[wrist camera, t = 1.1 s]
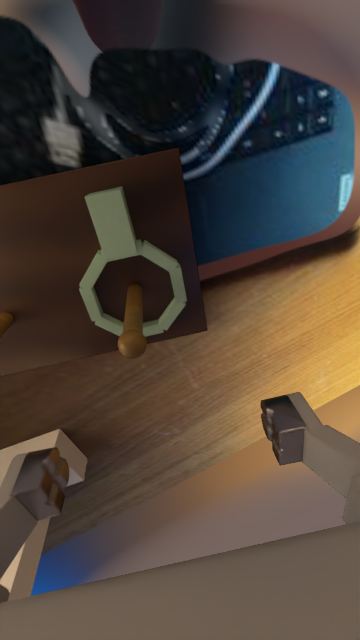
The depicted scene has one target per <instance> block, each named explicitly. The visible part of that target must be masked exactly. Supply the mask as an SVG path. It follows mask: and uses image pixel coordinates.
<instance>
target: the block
mask: <svg viewBox="0 0 360 640" xmlns="http://www.w3.org/2000/svg"><path fill="white" fill-rule="evenodd" d="M53 447H57V448H58V449H59V451H60V457H62V458H64V459H66V461H67V463H68V466H69V480H68V484H67V486H69V485H72V484H75V483H78V482H81V481H84V477H85V474H84V472H85V471H86V464H87V460H88V459H87V458H86V457H85V455H84V454H83V453H82V452H81V451H80V450H79V449H78V448H77V447H76V446H75V445H74V444H73V442H72V441H71V440H70V439H69V438H68V437H67V436H66V435H65V434H64V433H63V432H62V431H61V429H57V430H55V431H52V432H49V433H46V434H43V435H41V436H38V437H35V438H32V439H29V440H27V441H24V442H21V443H18V444H16V445H13V446H10V447H7V448H4V449H2V450H0V487H1V484H2V482H3V480H4V477H5V475H6V473H7V470H8V468H9V466H10V463H11V461H12V459H13V458H14V457H15V456H16V455H19V454H23V453H28V452H33V451H38V450H43V449H48V448H53ZM49 521H50V518H47V519H43V520H39V521H38V523H37V525H36V526H35V528H34V529H33V531H32V532H31V534H30V535H29V537H28V538H27V540H26V541H25V543H24V544H23V546H22V547H21V549H20V551H19V552H18V554H17V555H16V557H15V558H14V560H13V561H12V563H11V564H10V566H9V567H8V569H7V570H6V572H5V573H4V575H3V576H2V578H1V579H0V584H1V585H2V586H4V587H5V588H7V589H8V590H9V593H10V594H9V598H8V601H12V600H16V599H20V598H25V597H29V596H30V595H31V591H32V587H33V583H34V580H35V575H36V572H37V568H38V564H39V560H40V556H41V552H42V548H43V544H44V540H45V537H46V533H47V529H48V525H49Z"/></svg>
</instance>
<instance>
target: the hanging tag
mask: <svg viewBox="0 0 360 640" xmlns="http://www.w3.org/2000/svg"><path fill="white" fill-rule="evenodd" d="M85 200H86V203H87V206H88V209H89V212H90V215H91V218H92V221H93V224H94V227H95V230H96V233H97V236H98V239H99V243H100V246H101V251H100V250H98V251H97V253H96V255H95V257H94V259H93V261H92V262H91V264H90V266H89V268H88V270H87V271H86V273H85V275H84V277H83V279H82V280H81V282H80V284H79V286H80V288H79V291H80V293H81V296H82V298H83V301H84V303H85V306H86V308H87V311H88V313H89V316H90V318H91V320H92V322H93V321H95V325H97V326H99V327H101V328H103V329H105V330H108V331H110V332H112V333H114V334H116V335H118V336H120V335H121V334H122V333H123V326H124V323H123V322H121V321H119V320H117V319H115V318H113V317H111V316H109V315H107V314H105V313H103V311H102V308H101V305H100V302H99V300H98V297H97V294H96V292H95V289H94V284H95V282H96V280H97V279H98V277H99V275H100V274H101V272H102V270H103V268H104V267H105V265H106V263H107V262H109V261H114V260H118V259H123V258H128V257H132V256H137V255H142V256H144V257H146V258H147V259H149V260H151V261H152V262H154V263H155V264H157V265H159V266H160V267H162V268H164V269H165V270H167V271H169V273H170V277H171V282H172V287H173V291H174V296H175V297H174V299H173V300H172V301H171V303H170V304H169V306H168V307H167V308H166V310H165V311H164V313H163V314H162V315H161V317H160V318H159V319H158V320H154V321H149V322H145V323H143V335H144V336H145V337H146V336H150V335H155V334H159V333H163V332H164V331H163V329H164V330H166V331H167V330H168V328H169V327H170V325H171V324H172V323H173V321H174V320H175V319H176V317H177V316H178V315H179V313H180V312H181V311H182V309H183V308H184V307H185V305H186V301H187V298H186V292H185V287H184V282H183V276H182V271H181V267H180V264H178V262H177V260H176V259H174V258H173V257H171V256H169V255H168V254H166V253H165V252H163V251H162V250H160V249H158V248H157V247H155V246H154V245H152V244H151V243H149V242H147V241H146V240H144V242H143V243H142V242H141V239H139V240H136V237H135V233H134V229H133V226H132V222H131V218H130V214H129V210H128V206H127V203H126V199H125V195H124V191H123V187H118V188H113V189H108V190H103V191H99V192H94V193H90V194H88V195H87V196H85Z"/></svg>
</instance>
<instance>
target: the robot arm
mask: <svg viewBox="0 0 360 640" xmlns="http://www.w3.org/2000/svg"><path fill="white" fill-rule="evenodd" d="M261 409H262V411H263V413H262V414H261V418H262V424H263V428H264V431H265V434H266V436H267V438H268V439H269V440H270V441H272V448H273V452H274V454H275V456H276V458H277V460H278V462H279V465H285V464H290V463H295V462H300V461H302V462H303V463H304V464H305V465H306V466H307V467H309V468H310V469H311V470H312V471H314V472H315V473H316V474H317V475H318V476H320V477H321V478H322V479H323V480H325V481H326V482H327V483H328V484H330V485H331V486H332V487H333V488H334V489H336V490H337V491H338V492H339V493H340V494H342V495H343V496H344V497H345V498H347V500H346V505H345V509H344V513H343V517H342V518H343V519H344V521H345V523H346V525H342V526H337V527H333V528H329V529H324V530H320V531H316V532H311V533H307V534H302V535H298V536H294V537H289V538H285V539H280V540H276V541H271V542H267V543H263V544H258V545H254V546H250V547H245V548H240V549H236V550H232V551H227V552H223V553H218V554H214V555H210V556H206V557H201V558H196V559H192V560H188V561H183V562H179V563H174V564H170V565H166V566H161V567H157V568H153V569H148V570H144V571H139V572H135V573H130V574H126V575H122V576H117V577H113V578H108V579H104V580H100V581H95V582H91V583H87V584H82V585H78V586H73V587H69V588H64V589H61V590H56V591H51V592H47V593H42V594H38V595H34V596H29V597H25V598H20V599H16V600H12V601H8V598H9V594H10V593H9V590H8V589H7V588H5V587H4V586H2V585H1V584H0V640H360V443H358V442H357V441H355V440H353V439H351V438H350V437H348V436H346V435H344V434H342V433H341V432H339V431H337V430H335V429H334V428H332V427H330V426H328V425H324V426H323V425H322V423H321V422H320V420H319V419H318V417H317V416H316V414H315V413H314V411H313V410H312V408H311V407H310V406H309V404H308V403H307V401H306V400H305V398H304V397H303V395H302V394H301V393H300V392H297V393H292V394H288V395H282V396H278V397H274V398H270V399H265V400H261ZM68 480H69V466H68V463H67V461H66V459H64V458H62V457H60V451H59V449H58V448H57V447H53V448H48V449H43V450H38V451H33V452H28V453H23V454H19V455H16V456H15V457H14V458H13V459H12V461H11V463H10V466H9V468H8V470H7V473H6V475H5V477H4V480H3V482H2V484H1V487H0V579H1V578H2V576H3V575H4V573H5V572H6V570H7V569H8V567H9V566H10V564H11V563H12V561H13V560H14V558H15V557H16V555H17V554H18V552H19V551H20V549H21V547H22V546H23V544H24V543H25V541H26V540H27V538H28V537H29V535H30V534H31V532H32V531H33V529H34V528H35V526H36V525H37V523H38V521H39V520H43V519H47V518H51V517H55V516H58V515H61V511H62V507H63V502H64V498H65V495H64V493H63V489H64V488H65V487H66V486H67V484H68Z"/></svg>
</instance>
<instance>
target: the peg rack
mask: <svg viewBox="0 0 360 640" xmlns="http://www.w3.org/2000/svg"><path fill="white" fill-rule="evenodd" d="M118 187H123V191H124V195H125V199H126V203H127V206H128V210H129V214H130V218H131V222H132V226H133V229H134V233H135V237H136V240H139V239H141V242H142V243H143V242H144V240H146V241H147V242H149V243H151V244H152V245H154V246H155V247H157V248H158V249H160V250H162V251H163V252H165V253H166V254H168V255H169V256H171V257H173V258H174V259H176V260H177V262H178V264H180V267H181V271H182V276H183V282H184V287H185V292H186V298H187V301H186V305H185V307H184V308H183V309H182V311H181V312H180V313H179V315H178V316H177V317H176V319H175V320H174V321H173V323H172V324H171V325H170V327H169V328H168V330H167V331H166V330H164V329H163V331H164V332H163V333H159V334H155V335H150V336H146V337H145V336H144V335H143V323H145V322H149V321H154V320H158V319H159V318H160V317H161V315H162V314H163V313H164V311H165V310H166V308H167V307H168V306H169V304H170V303H171V301H172V300H173V299H174V297H175V296H174V291H173V287H172V282H171V277H170V273H169V271H167V270H165V269H164V268H162V267H160V266H159V265H157V264H155V263H154V262H152V261H151V260H149V259H147V258H146V257H144V256H142V255H137V256H132V257H128V258H123V259H118V260H114V261H109V262H107V263H106V265H105V267H104V268H103V270H102V272H101V274H100V275H99V277H98V279H97V280H96V282H95V284H94V289H95V292H96V294H97V297H98V300H99V302H100V305H101V308H102V311H103V313H105V314H107V315H109V316H111V317H113V318H115V319H117V320H119V321H121V322H123V323H124V326H123V333H122V334H121V335H120V336H118V335H116V334H114V333H112V332H110V331H108V330H105V329H103V328H101V327H99V326H97V325H95V321H93V322H92V320H91V318H90V316H89V313H88V311H87V308H86V306H85V303H84V301H83V298H82V296H81V293H80V291H79V288H80V286H79V284H80V282H81V280H82V279H83V277H84V275H85V273H86V271H87V270H88V268H89V266H90V264H91V262H92V261H93V259H94V257H95V255H96V253H97V251H98V250H100V251H101V246H100V243H99V239H98V236H97V233H96V230H95V227H94V224H93V221H92V218H91V215H90V212H89V209H88V206H87V203H86V200H85V196H87V195H88V194H90V193H94V192H99V191H103V190H108V189H113V188H118ZM203 331H207V324H206V318H205V312H204V305H203V299H202V293H201V286H200V280H199V274H198V267H197V261H196V255H195V248H194V242H193V236H192V229H191V223H190V217H189V210H188V204H187V198H186V191H185V185H184V179H183V172H182V166H181V160H180V153H179V148H174V149H170V150H165V151H160V152H156V153H151V154H146V155H142V156H137V157H132V158H127V159H123V160H118V161H113V162H109V163H104V164H99V165H95V166H90V167H85V168H80V169H76V170H71V171H66V172H62V173H57V174H52V175H48V176H43V177H38V178H33V179H29V180H24V181H19V182H15V183H10V184H5V185H1V186H0V376H3V375H7V374H12V373H16V372H21V371H25V370H30V369H35V368H39V367H44V366H48V365H53V364H57V363H62V362H66V361H71V360H76V359H80V358H85V357H89V356H94V355H98V354H103V353H107V352H112V351H117V350H119V351H120V353H121V354H122V355H123V356H125V357H127V358H137V357H139V356H141V355H142V354H143V353H144V352H145V350H146V347H147V344H148V343H153V342H158V341H162V340H167V339H171V338H176V337H180V336H185V335H189V334H194V333H199V332H203Z"/></svg>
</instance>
